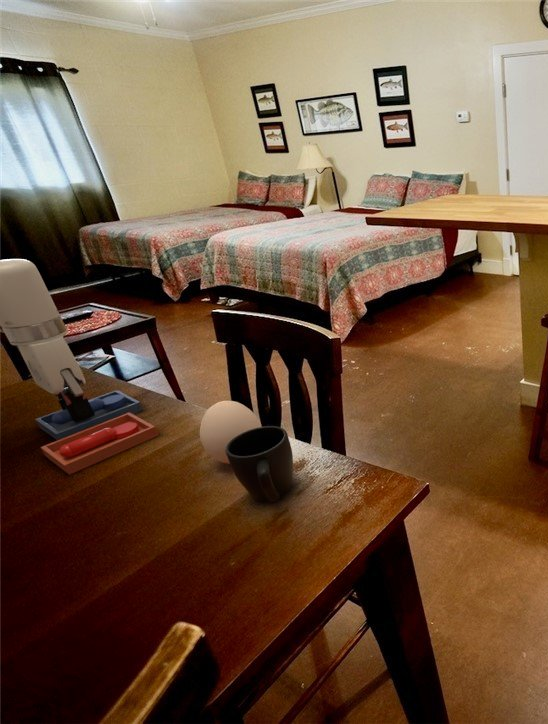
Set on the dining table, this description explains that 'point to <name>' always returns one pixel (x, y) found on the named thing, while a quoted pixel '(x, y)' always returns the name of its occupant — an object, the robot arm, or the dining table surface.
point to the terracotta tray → (102, 450)
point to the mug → (262, 462)
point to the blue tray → (98, 418)
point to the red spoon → (98, 439)
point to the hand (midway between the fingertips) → (81, 416)
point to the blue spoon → (96, 405)
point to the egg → (225, 427)
